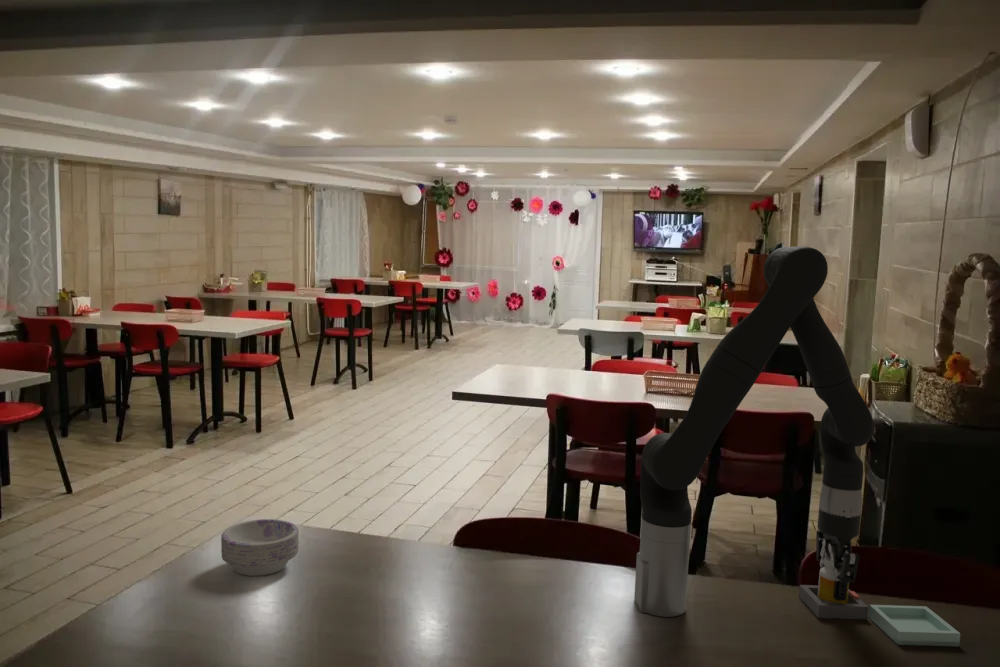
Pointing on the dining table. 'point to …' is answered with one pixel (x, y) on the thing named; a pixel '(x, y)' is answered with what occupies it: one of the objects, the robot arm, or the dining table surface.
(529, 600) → the dining table surface
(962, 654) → the dining table surface
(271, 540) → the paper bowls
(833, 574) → the supplement bottle
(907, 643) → the tray
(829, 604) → the socket collar
